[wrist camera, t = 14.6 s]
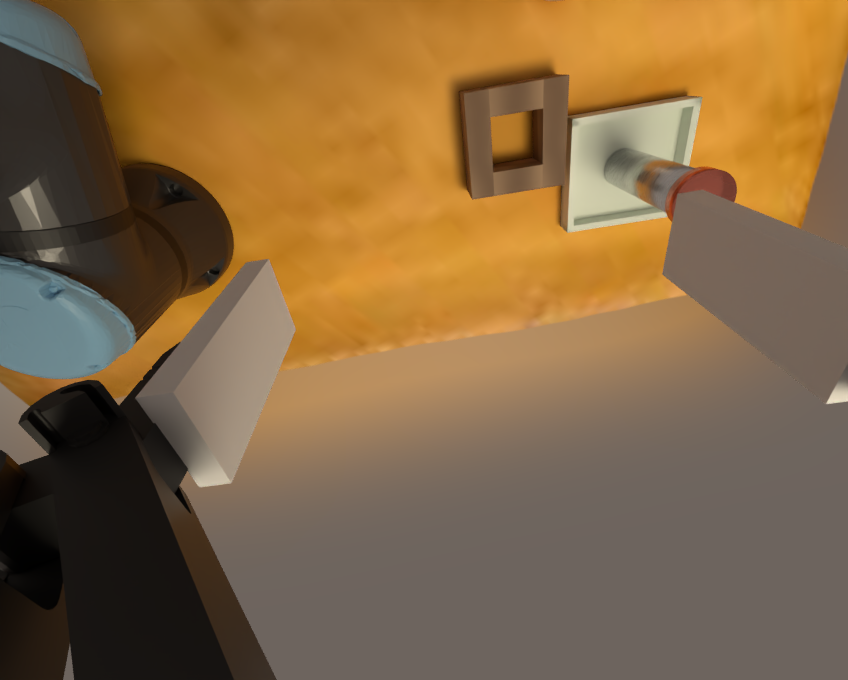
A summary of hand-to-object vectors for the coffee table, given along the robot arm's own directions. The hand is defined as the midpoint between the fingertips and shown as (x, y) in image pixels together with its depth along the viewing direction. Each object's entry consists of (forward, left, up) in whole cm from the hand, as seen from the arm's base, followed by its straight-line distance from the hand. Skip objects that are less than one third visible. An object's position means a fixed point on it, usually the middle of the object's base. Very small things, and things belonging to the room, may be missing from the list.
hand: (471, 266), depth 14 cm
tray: (+22, -7, -37) cm, 43 cm away
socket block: (+9, -2, -37) cm, 38 cm away
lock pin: (+21, -7, -36) cm, 42 cm away
